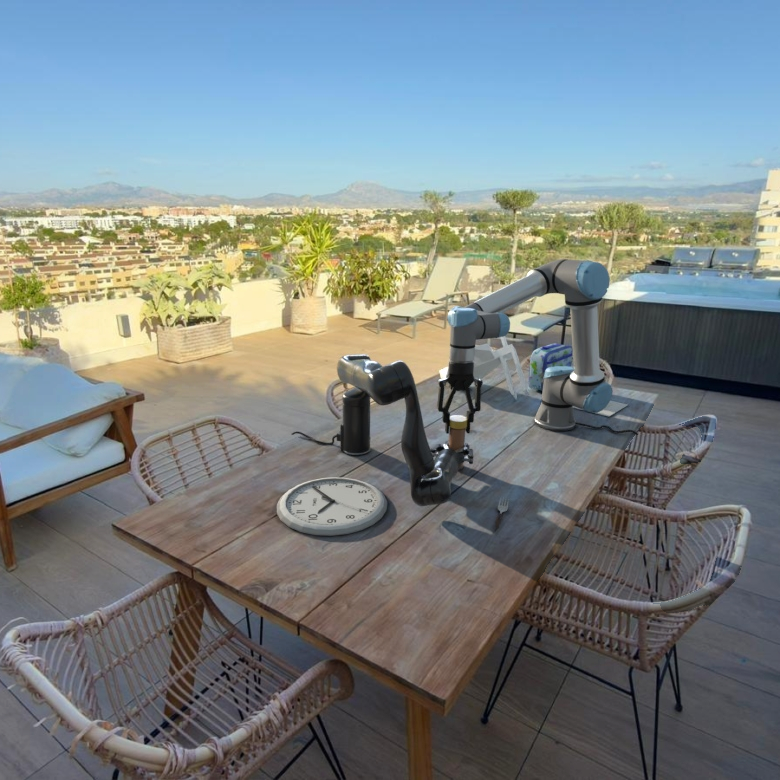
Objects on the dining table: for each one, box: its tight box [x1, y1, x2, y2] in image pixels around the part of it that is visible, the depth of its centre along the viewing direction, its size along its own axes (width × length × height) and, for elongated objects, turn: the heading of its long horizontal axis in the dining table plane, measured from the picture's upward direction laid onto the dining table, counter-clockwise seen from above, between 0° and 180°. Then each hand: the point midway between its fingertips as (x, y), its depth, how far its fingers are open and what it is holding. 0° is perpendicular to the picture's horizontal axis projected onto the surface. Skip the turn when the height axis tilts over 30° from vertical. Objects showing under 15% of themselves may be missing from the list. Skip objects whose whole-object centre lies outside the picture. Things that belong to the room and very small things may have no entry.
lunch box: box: [528, 343, 573, 392], centre depth 249 cm, size 26×11×21 cm, turn 134°
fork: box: [494, 496, 510, 532], centre depth 138 cm, size 3×16×2 cm, turn 160°
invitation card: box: [573, 400, 629, 418], centre depth 226 cm, size 21×1×15 cm
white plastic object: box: [438, 336, 531, 400], centre depth 245 cm, size 37×45×31 cm
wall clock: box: [276, 476, 388, 537], centre depth 142 cm, size 30×2×30 cm
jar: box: [448, 427, 466, 470], centre depth 165 cm, size 5×5×16 cm
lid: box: [449, 414, 468, 429], centre depth 163 cm, size 6×6×2 cm
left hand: (458, 444), depth 168 cm, fingers closed on jar, 5 cm apart
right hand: (457, 431), depth 164 cm, fingers closed on lid, 6 cm apart
